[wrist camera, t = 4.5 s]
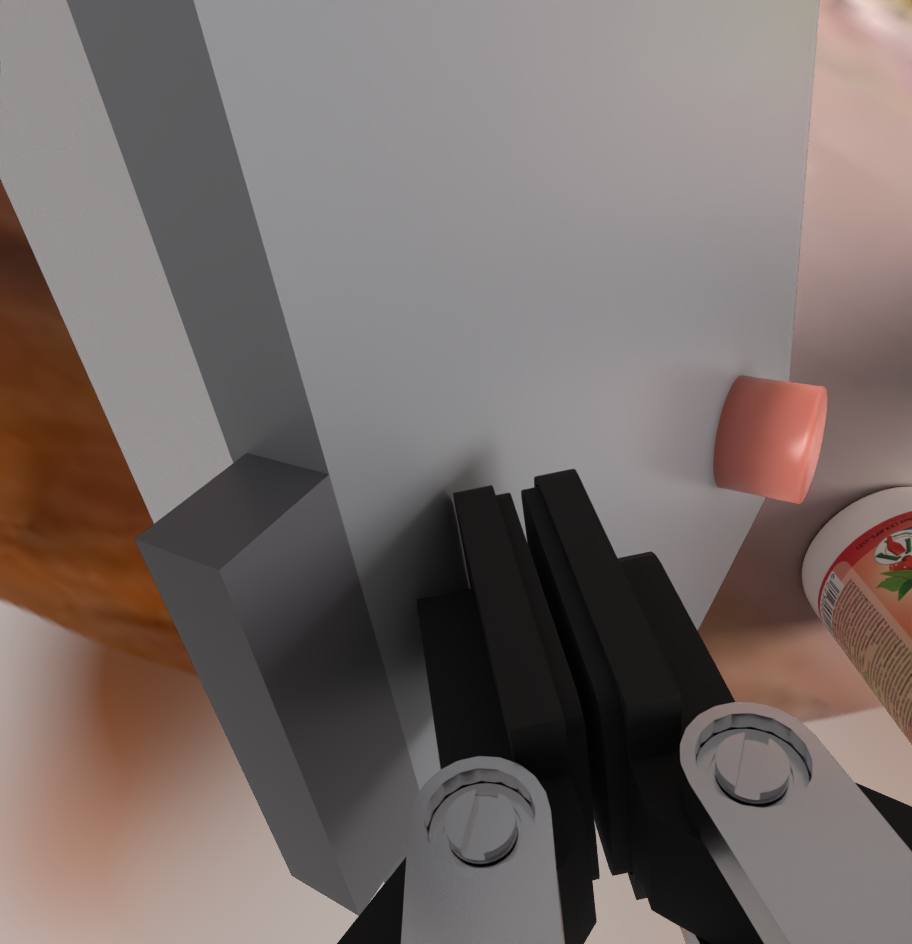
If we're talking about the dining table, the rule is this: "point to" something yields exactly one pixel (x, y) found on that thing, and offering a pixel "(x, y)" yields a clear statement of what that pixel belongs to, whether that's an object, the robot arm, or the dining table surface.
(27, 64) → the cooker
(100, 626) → the dining table surface
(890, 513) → the fruit juice
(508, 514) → the robot arm
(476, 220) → the lid
